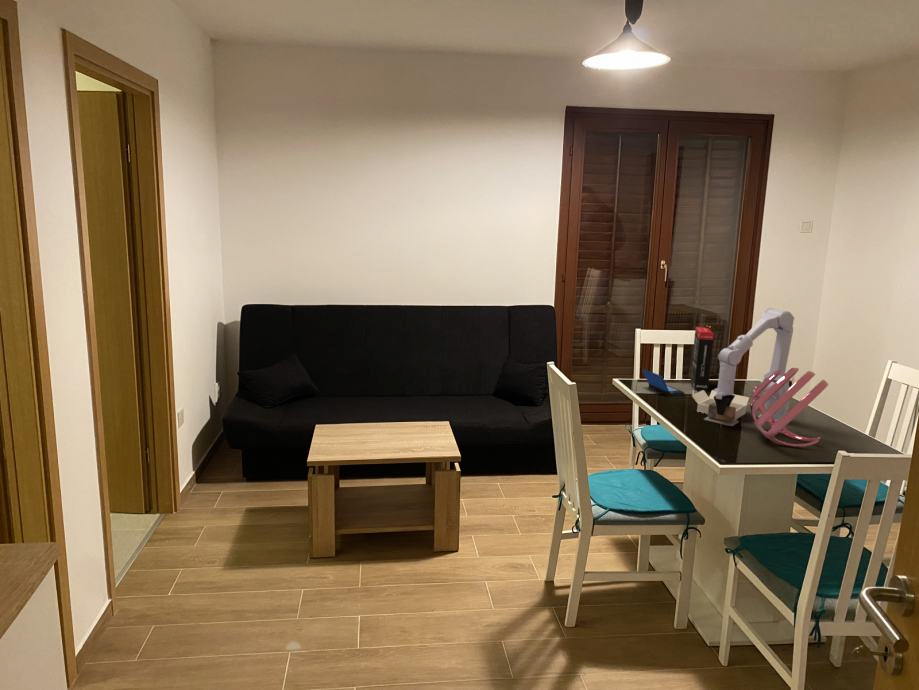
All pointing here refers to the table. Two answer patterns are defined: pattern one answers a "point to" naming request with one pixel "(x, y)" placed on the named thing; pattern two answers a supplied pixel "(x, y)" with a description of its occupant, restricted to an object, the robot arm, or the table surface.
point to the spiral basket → (768, 414)
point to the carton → (704, 402)
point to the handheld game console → (660, 384)
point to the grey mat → (721, 421)
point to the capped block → (727, 416)
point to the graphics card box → (701, 358)
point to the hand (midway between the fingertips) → (722, 413)
